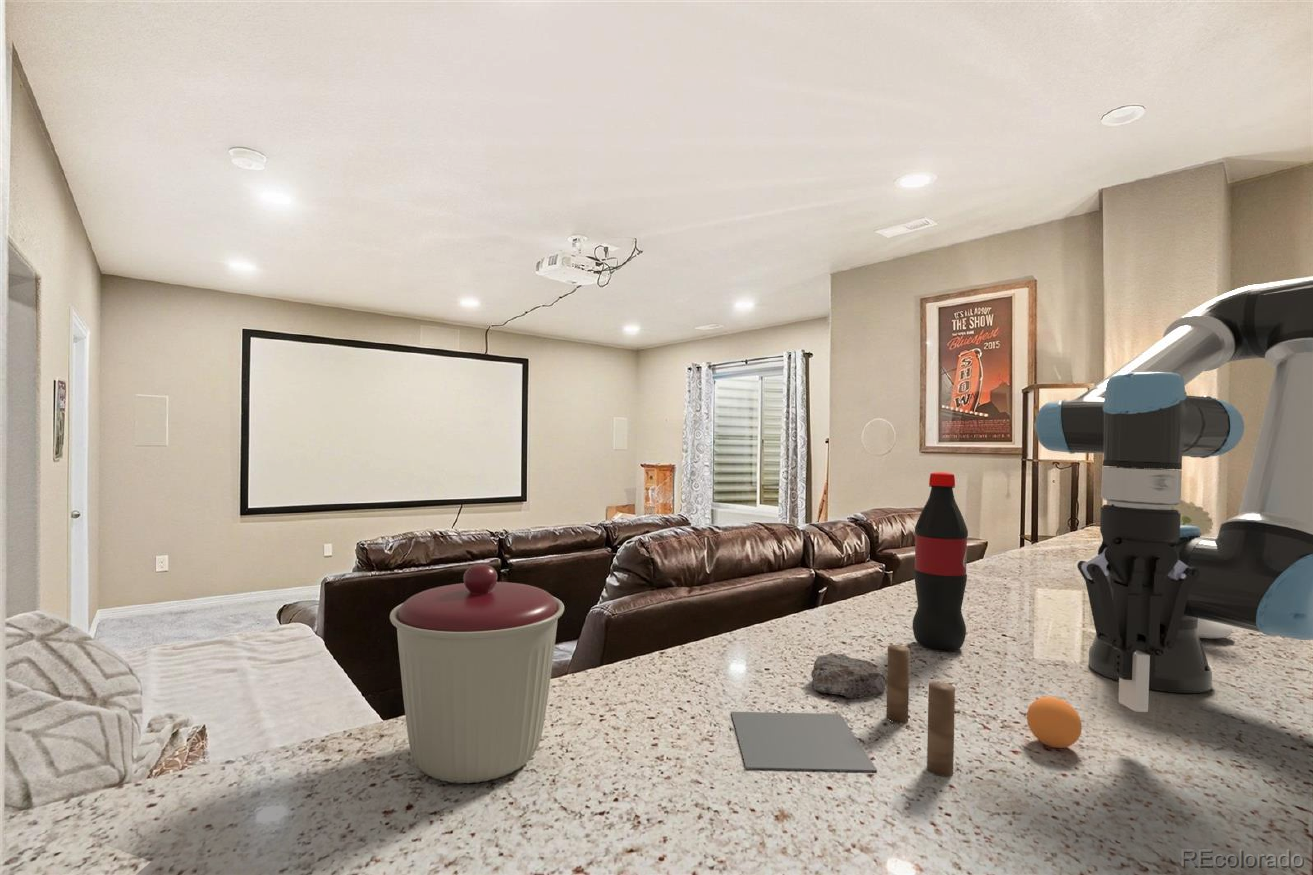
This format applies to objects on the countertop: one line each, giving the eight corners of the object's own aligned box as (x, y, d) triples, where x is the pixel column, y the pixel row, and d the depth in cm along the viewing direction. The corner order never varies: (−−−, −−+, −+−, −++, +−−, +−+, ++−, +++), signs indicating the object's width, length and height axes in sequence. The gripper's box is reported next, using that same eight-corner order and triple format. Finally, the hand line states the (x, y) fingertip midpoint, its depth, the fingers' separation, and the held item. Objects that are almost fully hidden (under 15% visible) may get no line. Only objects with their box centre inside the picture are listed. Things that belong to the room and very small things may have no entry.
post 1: (903, 714, 84) (904, 645, 84) (911, 723, 82) (912, 651, 82) (883, 714, 84) (884, 644, 84) (890, 723, 82) (892, 651, 82)
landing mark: (840, 715, 84) (840, 713, 84) (877, 771, 70) (877, 770, 70) (731, 713, 84) (731, 711, 84) (745, 769, 70) (746, 767, 70)
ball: (1062, 735, 79) (1063, 689, 79) (1092, 757, 74) (1093, 708, 74) (1016, 734, 79) (1017, 688, 79) (1043, 756, 74) (1044, 707, 74)
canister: (500, 824, 59) (505, 591, 59) (346, 783, 65) (350, 573, 65) (589, 738, 76) (592, 557, 76) (460, 712, 82) (463, 545, 82)
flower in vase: (1250, 645, 117) (1253, 505, 117) (1185, 643, 117) (1188, 504, 117) (1191, 623, 130) (1194, 498, 130) (1133, 622, 130) (1136, 497, 130)
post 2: (946, 764, 72) (948, 682, 72) (957, 776, 69) (959, 691, 69) (922, 763, 72) (924, 681, 72) (933, 776, 69) (934, 691, 69)
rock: (894, 693, 92) (894, 665, 92) (832, 705, 87) (833, 675, 87) (851, 672, 100) (851, 646, 100) (793, 682, 95) (793, 654, 95)
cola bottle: (968, 644, 114) (972, 472, 114) (961, 658, 107) (965, 474, 107) (917, 635, 118) (920, 470, 118) (907, 648, 111) (911, 472, 111)
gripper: (1106, 506, 73) (1098, 718, 73) (1223, 510, 73) (1216, 722, 73) (1064, 500, 80) (1057, 692, 80) (1170, 504, 80) (1163, 696, 80)
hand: (1132, 706), depth 76 cm, fingers closed
